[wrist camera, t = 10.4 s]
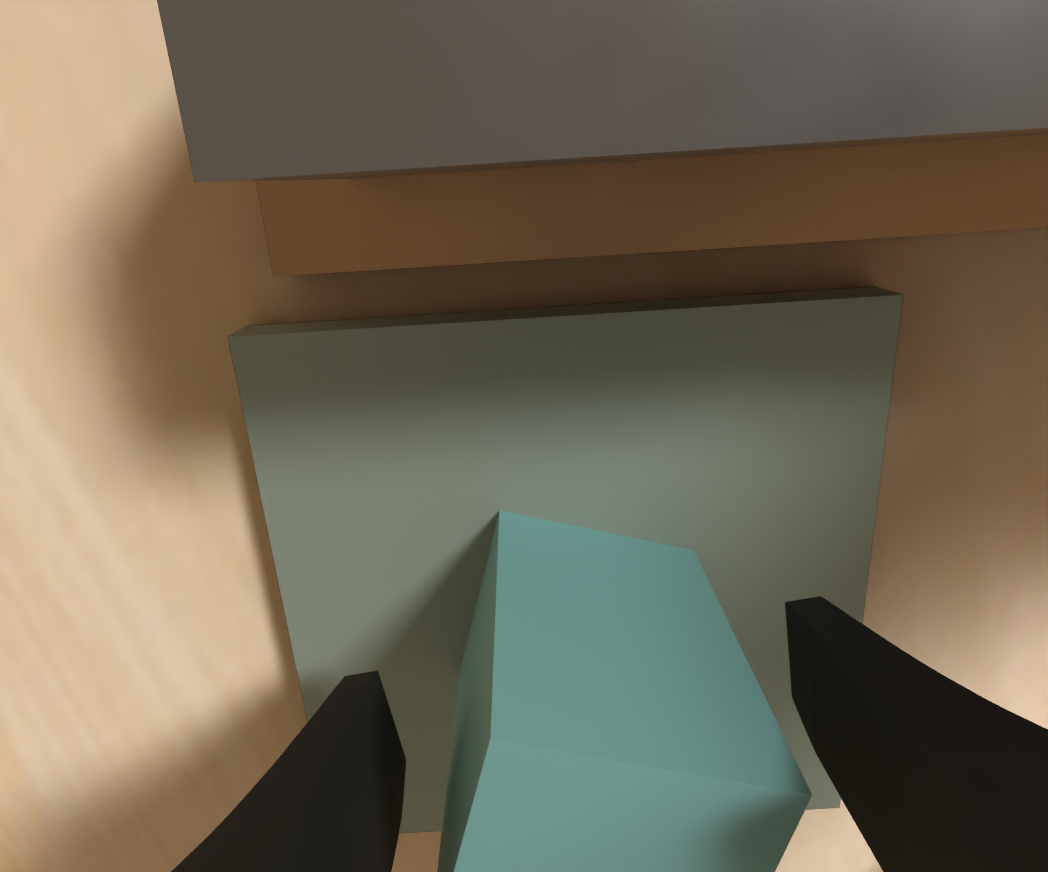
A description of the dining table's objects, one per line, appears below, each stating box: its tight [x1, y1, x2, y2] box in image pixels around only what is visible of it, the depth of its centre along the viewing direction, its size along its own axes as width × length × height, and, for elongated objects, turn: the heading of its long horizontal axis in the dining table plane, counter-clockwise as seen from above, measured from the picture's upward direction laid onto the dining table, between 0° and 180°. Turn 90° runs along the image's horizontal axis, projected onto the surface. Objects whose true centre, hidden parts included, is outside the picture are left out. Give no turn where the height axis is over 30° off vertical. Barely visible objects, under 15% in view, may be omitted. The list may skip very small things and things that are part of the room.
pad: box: [228, 287, 903, 833], centre depth 15 cm, size 12×12×1 cm
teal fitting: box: [438, 510, 812, 872], centre depth 12 cm, size 4×4×6 cm
